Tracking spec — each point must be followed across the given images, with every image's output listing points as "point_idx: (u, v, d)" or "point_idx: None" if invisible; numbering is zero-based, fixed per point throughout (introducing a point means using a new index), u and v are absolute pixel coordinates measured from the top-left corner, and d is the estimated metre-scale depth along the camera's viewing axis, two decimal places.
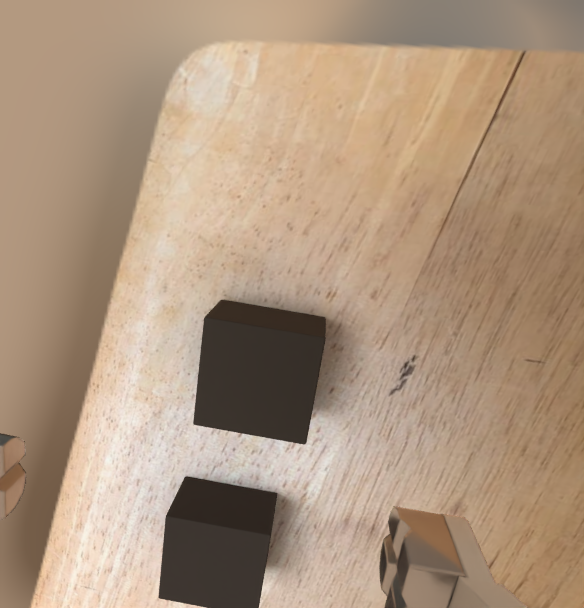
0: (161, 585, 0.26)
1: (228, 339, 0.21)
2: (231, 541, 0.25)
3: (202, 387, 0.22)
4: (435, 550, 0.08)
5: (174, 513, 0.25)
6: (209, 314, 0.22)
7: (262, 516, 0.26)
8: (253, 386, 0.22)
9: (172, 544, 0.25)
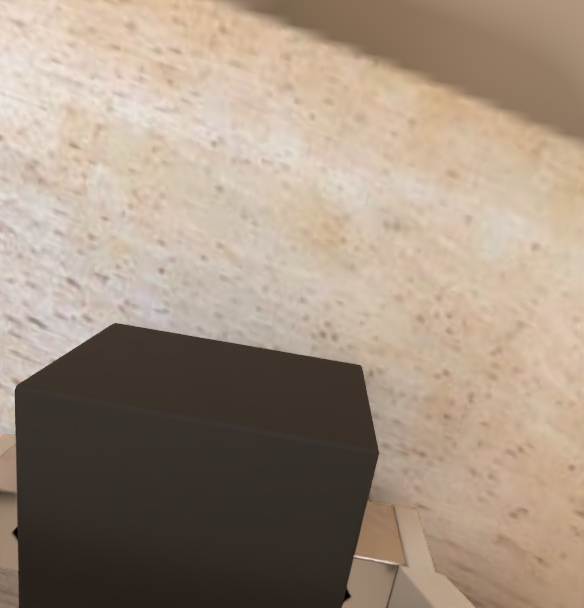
0: None
1: (307, 509, 0.07)
2: None
3: (146, 426, 0.07)
4: (378, 540, 0.08)
5: None
6: None
7: None
8: (165, 558, 0.08)
9: None
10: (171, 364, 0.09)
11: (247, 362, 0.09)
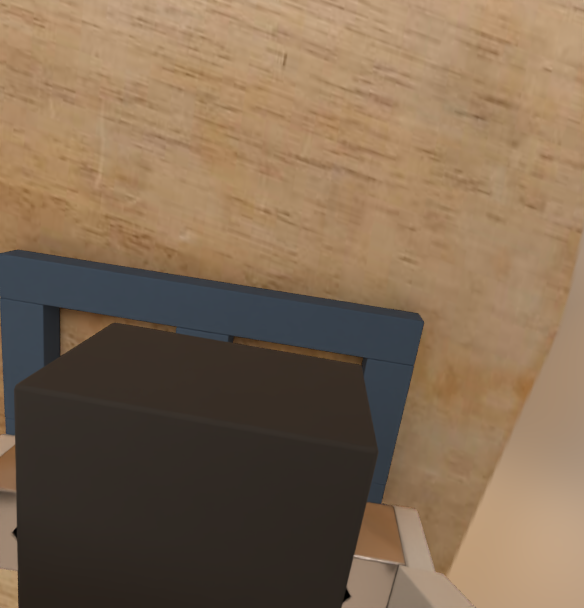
0: None
1: (306, 508, 0.07)
2: None
3: (145, 425, 0.07)
4: (379, 540, 0.08)
5: None
6: None
7: None
8: (165, 557, 0.08)
9: None
10: (171, 363, 0.09)
11: (247, 362, 0.09)
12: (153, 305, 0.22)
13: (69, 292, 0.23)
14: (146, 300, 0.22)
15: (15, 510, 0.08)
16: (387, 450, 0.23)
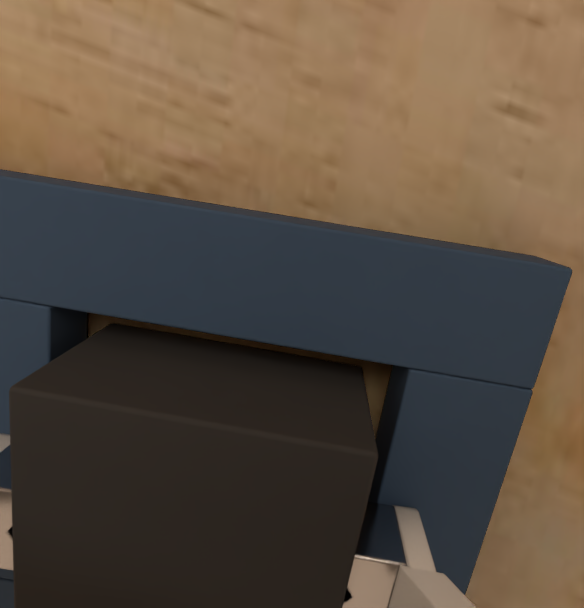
0: None
1: (306, 513, 0.07)
2: None
3: (142, 428, 0.07)
4: (379, 540, 0.08)
5: None
6: None
7: None
8: (161, 562, 0.08)
9: None
10: (168, 365, 0.09)
11: (246, 363, 0.09)
12: None
13: None
14: None
15: (11, 509, 0.08)
16: None
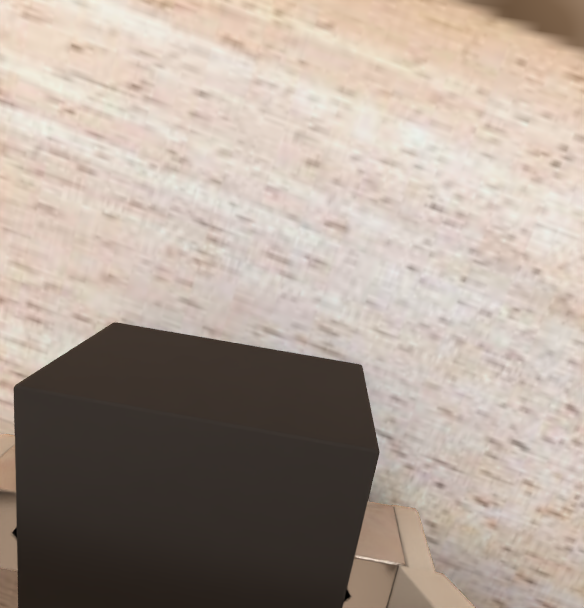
0: (74, 404, 0.07)
1: None
2: None
3: None
4: (379, 540, 0.08)
5: None
6: None
7: None
8: None
9: (261, 459, 0.07)
10: None
11: None
12: None
13: None
14: None
15: (15, 510, 0.08)
16: None
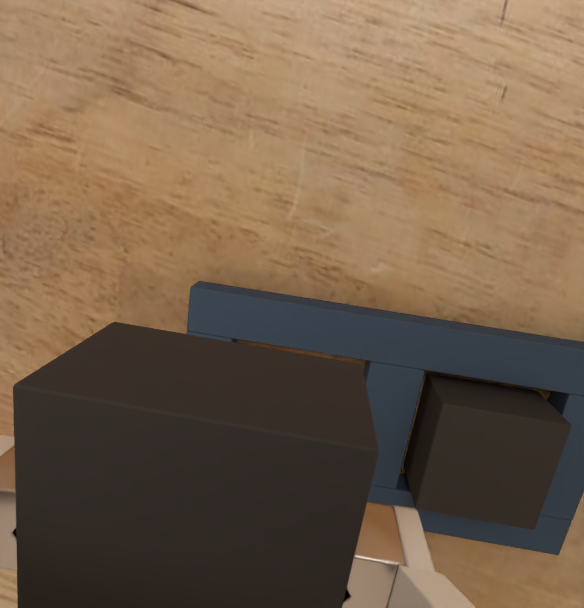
0: (73, 403, 0.07)
1: (543, 446, 0.20)
2: None
3: (489, 417, 0.20)
4: (378, 540, 0.08)
5: None
6: None
7: None
8: (486, 465, 0.21)
9: (261, 458, 0.07)
10: (474, 393, 0.22)
11: (497, 391, 0.23)
12: (349, 339, 0.22)
13: (261, 326, 0.22)
14: (342, 335, 0.22)
15: (15, 510, 0.08)
16: (578, 486, 0.23)
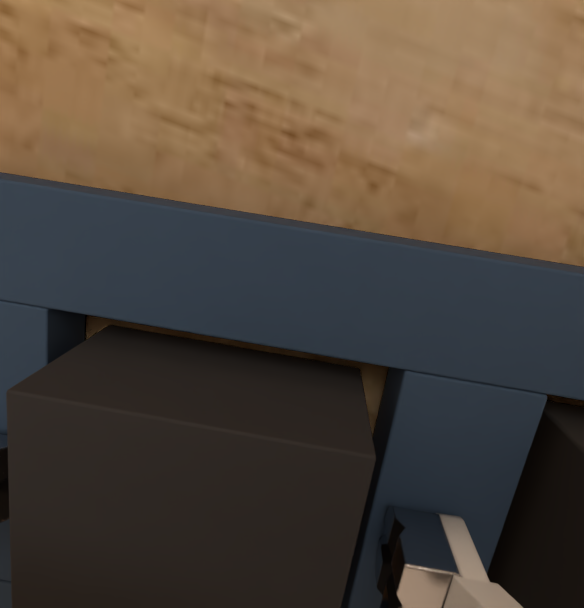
0: (67, 409, 0.07)
1: None
2: None
3: None
4: (430, 549, 0.08)
5: None
6: None
7: None
8: None
9: (256, 465, 0.07)
10: None
11: None
12: (349, 313, 0.08)
13: (119, 276, 0.08)
14: (332, 300, 0.08)
15: None
16: None
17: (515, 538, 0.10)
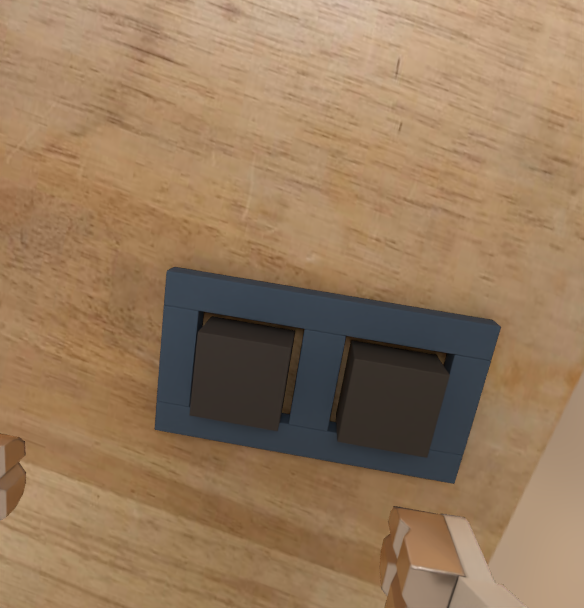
0: (213, 336, 0.27)
1: (430, 391, 0.27)
2: (268, 400, 0.28)
3: (389, 369, 0.27)
4: (435, 550, 0.08)
5: (290, 352, 0.28)
6: None
7: None
8: (388, 407, 0.28)
9: (261, 350, 0.27)
10: (383, 353, 0.29)
11: (402, 353, 0.29)
12: (288, 312, 0.29)
13: (221, 301, 0.29)
14: (283, 308, 0.29)
15: None
16: (466, 427, 0.30)
17: (344, 384, 0.30)
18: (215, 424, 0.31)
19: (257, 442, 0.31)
